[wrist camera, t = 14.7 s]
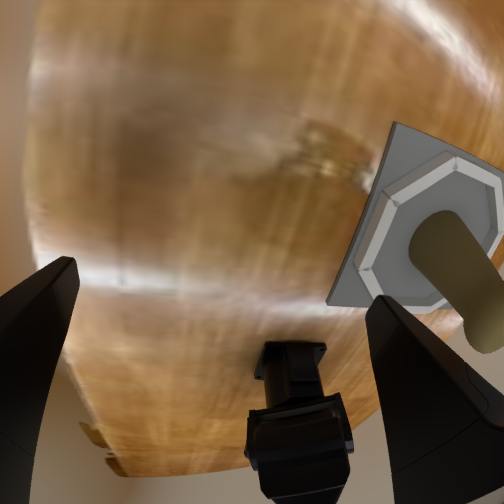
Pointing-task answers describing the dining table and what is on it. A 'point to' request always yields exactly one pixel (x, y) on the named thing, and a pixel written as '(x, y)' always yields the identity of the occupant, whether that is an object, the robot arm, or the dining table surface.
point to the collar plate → (416, 219)
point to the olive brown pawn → (461, 276)
